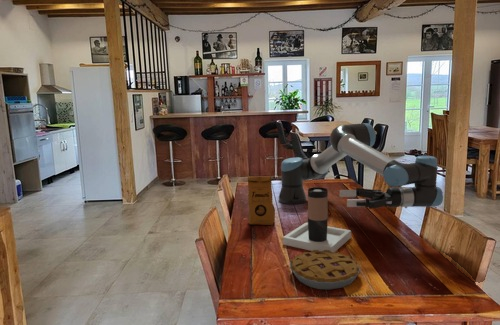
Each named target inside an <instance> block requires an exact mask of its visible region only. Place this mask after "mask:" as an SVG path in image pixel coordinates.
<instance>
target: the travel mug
mask: <svg viewBox="0 0 500 325" xmlns="http://www.w3.org/2000/svg"><path fill="white" fill-rule="evenodd" d="M328 193H329V192H328V189H327V188H325V187H320V186H318V187H317V186H314V187H310V188H308V189H307V223H308V235H309V240H311V241H314V242H323V241H325V240H326V239H327V226H328V221H329V220H328V207H329V206H328V200H329V199H328V197H329V196H328Z"/></svg>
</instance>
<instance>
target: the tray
mask: <svg viewBox="0 0 500 325" xmlns="http://www.w3.org/2000/svg"><path fill="white" fill-rule="evenodd" d="M351 238H352V231H351V230H350V229H345V228H339V227H333V226H329V225H327V239H326V240H325V241H323V242H314V241H311V240H309V235H308V221H307V222H305V223H302V225H300V226H298V227H297V228H295V229H293V230H291V231H290V232H289V233H287V234H285V235H284V236H283V237H282V245H284V246H288V247H293V248H297V249H302V250H305V251H310V252H312V251H313V250H318V251H324V250H329V251H330V252H338V249H339V248H342V246H343V245H344V244H346V243H347V242H348V241H349V240H350V239H351Z"/></svg>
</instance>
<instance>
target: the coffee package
mask: <svg viewBox="0 0 500 325" xmlns="http://www.w3.org/2000/svg"><path fill="white" fill-rule="evenodd" d="M247 188H248V194H247V197H248V198H247V199H248V208H249V209H248V220H247V222H248V224H249V225H256V226H257V225H260V226H274V223H275V222H276V209H275V206H274V203H273V187H272V176H248V177H247Z"/></svg>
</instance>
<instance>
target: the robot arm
mask: <svg viewBox="0 0 500 325" xmlns="http://www.w3.org/2000/svg"><path fill="white" fill-rule="evenodd" d="M376 139H377V134H376V130H375V128H374V127H373V125H371V124H370V123H367V122H366V123H364V122H361V123H350V124H349V123H347V124H339V125H338V126H336V127H334V128H333V129H332V131H331V133H330V136H329V144H330V146H328V147H327V148H326V149H324V150H323V151H322V152H321V153H316V154H313V155H312V156H310V158H305V159H303V158H302V157H298V156H296V157H289V158H286V159H283V161H281V164H280V165H281V166H280V169H281V170H280V172H281V189H280V192H279V196H278V203H282V204H287V205H300V204H304V203H306V201H307V195H306V192H305V189H304V182H305V181H309V180H315V179H316V180H319V179H323V178H326V176H327V175H328V173H329V171H330V167H331V166H333V165H334V164H337V162H339V161H341V160H342V159H344V158H345V157H346V156H349V157H350V158H352V159H353V160H355V161H356V162H359V163H360V164H362V165H364V166H365V167H367V168H369V169H370V170H372V171H374V172H375V173H377V174H379V175H380V176H381V177H383V181H384V182H385V184H386V185H387V186H389V187H387V189H386V192H384V191H382V190H381V189H370V188H359V187H356V188H355V189H340V190H339V198H348V199H346V208H362V207H363V208H365V207H366V208H368V209H370V210H372V209H378V208H382V207H389V208H399V207H400V208H405V209H407V208H409V207H410V208H411V207H413V208H414V207H415V208H416V207H420V208H422V207H423V208H431V207H438V206H440V205H442V203H443V200H444V195H443V190H442V189H441V187H439V186H437V176H438V168H439V167H438V158H437V157H435V156H433V155H418V156H416V157H415V161H414V162H413V163H406V164H405V163H402V162H399V161H397V160H396V159H394V158H392V157H390V156H388V155H386V154H384V153H383V152H381V151H378V150H377V149H375V148H374V147H373V146H374V145H375V142H376ZM408 185H414V186H410V187H409V186H408ZM404 186H405V187H404ZM358 197H361V198H358ZM349 198H351V199H349ZM353 198H355V199H353ZM357 198H358V199H357Z"/></svg>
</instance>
